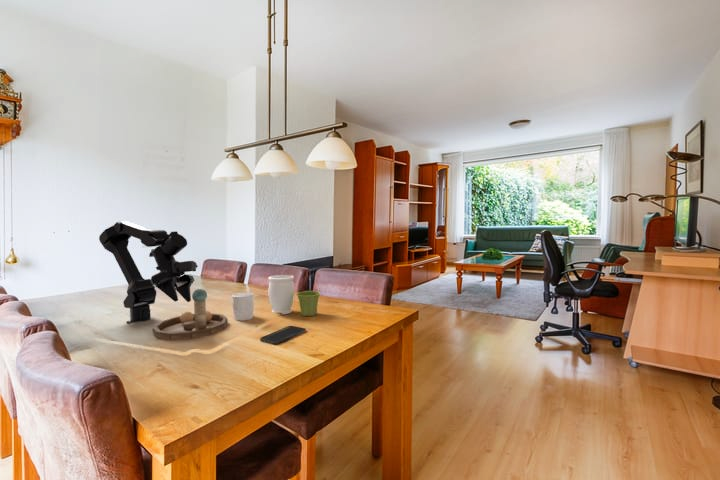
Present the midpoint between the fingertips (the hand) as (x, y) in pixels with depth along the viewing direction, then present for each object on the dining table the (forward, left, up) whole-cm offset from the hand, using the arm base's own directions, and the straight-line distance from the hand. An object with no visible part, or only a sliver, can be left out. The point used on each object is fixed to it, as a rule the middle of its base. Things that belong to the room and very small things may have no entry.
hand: (183, 301), depth 117 cm
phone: (+36, +6, -11) cm, 38 cm away
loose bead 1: (-2, +4, -9) cm, 10 cm away
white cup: (+12, +16, -10) cm, 23 cm away
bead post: (+10, -2, -9) cm, 14 cm away
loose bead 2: (+3, +7, -9) cm, 12 cm away
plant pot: (+32, +31, -10) cm, 46 cm away
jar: (+20, +30, -10) cm, 38 cm away
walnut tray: (+3, 0, -10) cm, 11 cm away
